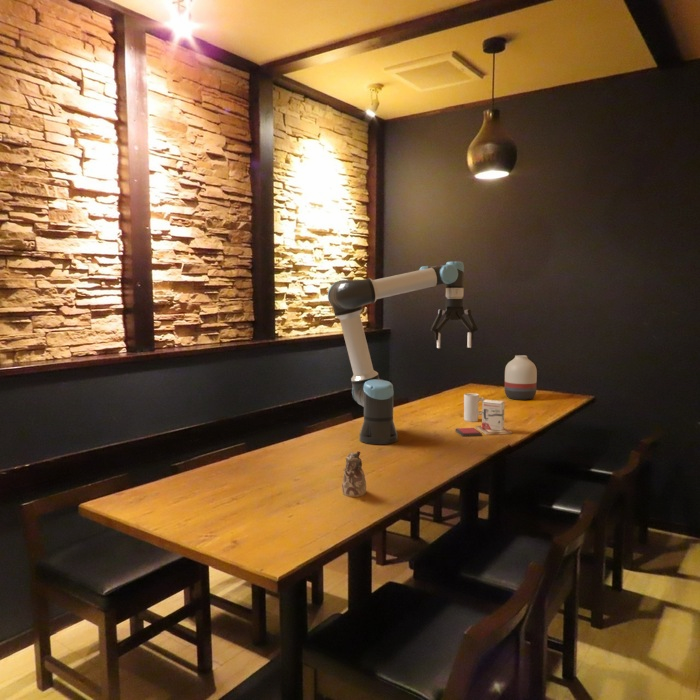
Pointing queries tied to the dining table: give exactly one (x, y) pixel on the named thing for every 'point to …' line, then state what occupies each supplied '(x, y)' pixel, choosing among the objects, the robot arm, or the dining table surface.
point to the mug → (471, 407)
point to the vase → (520, 378)
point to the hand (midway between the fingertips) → (453, 347)
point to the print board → (493, 431)
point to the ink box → (493, 414)
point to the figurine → (354, 476)
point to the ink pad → (468, 432)
